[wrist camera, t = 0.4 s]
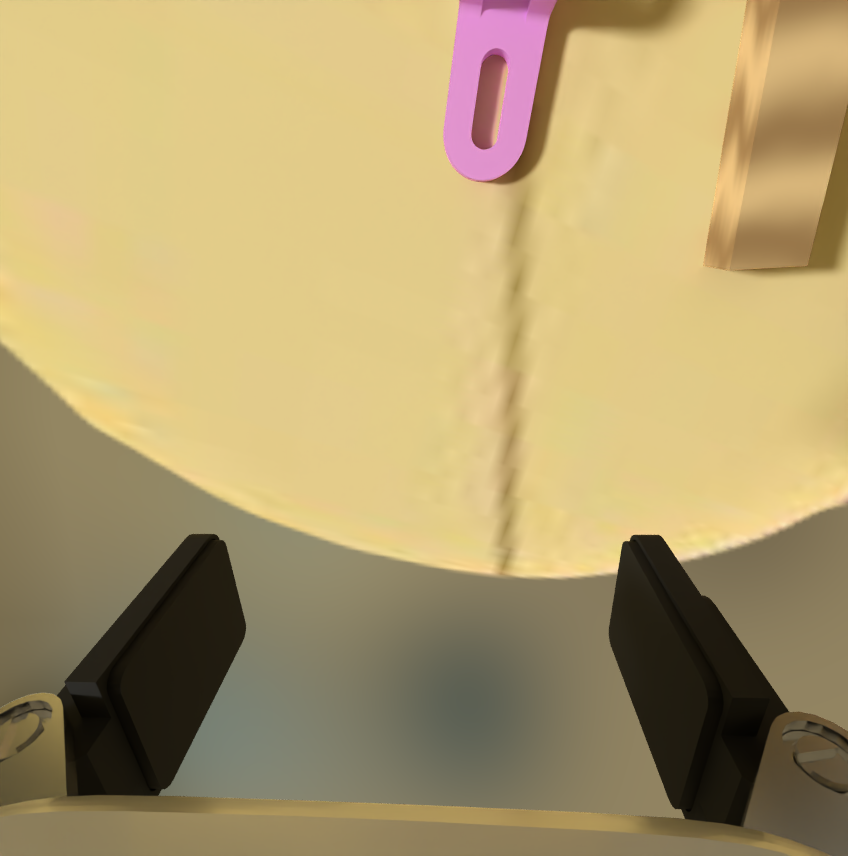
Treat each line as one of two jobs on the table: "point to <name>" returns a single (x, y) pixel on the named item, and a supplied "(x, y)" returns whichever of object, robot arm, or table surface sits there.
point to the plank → (780, 134)
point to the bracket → (522, 50)
